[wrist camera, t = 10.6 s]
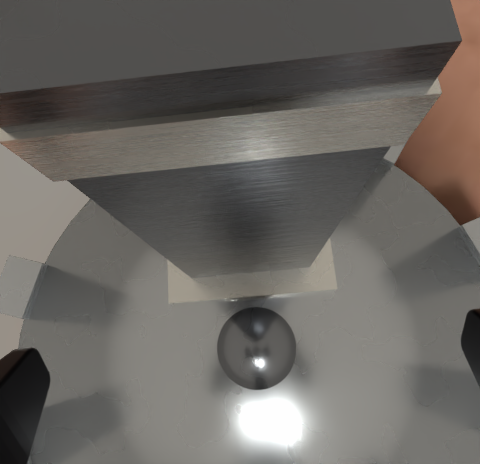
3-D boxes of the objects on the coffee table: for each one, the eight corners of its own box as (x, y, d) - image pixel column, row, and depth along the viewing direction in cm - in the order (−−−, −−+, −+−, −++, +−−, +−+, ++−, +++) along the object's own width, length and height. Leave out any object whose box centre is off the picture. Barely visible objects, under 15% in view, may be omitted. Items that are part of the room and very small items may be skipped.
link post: (312, 269, 16) (476, 48, 4) (188, 280, 16) (-50, 107, 4) (297, 156, 17) (376, -275, 5) (183, 168, 17) (-2, -219, 5)
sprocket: (536, 753, 13) (601, 853, 10) (-71, 582, 15) (-134, 629, 13) (526, 151, 18) (566, 123, 16) (87, 96, 21) (63, 65, 18)
